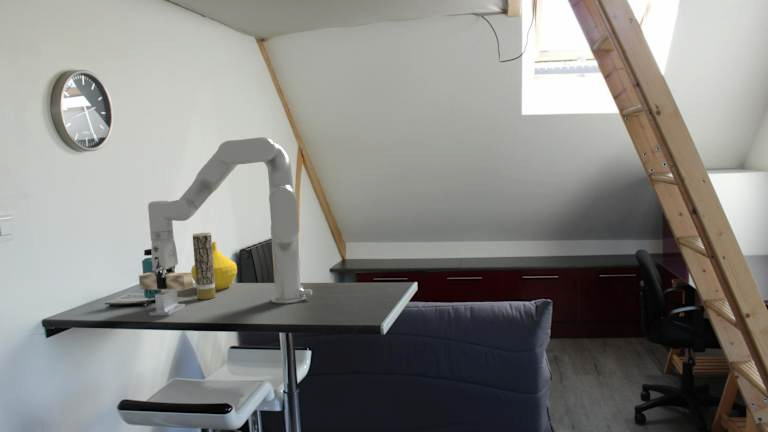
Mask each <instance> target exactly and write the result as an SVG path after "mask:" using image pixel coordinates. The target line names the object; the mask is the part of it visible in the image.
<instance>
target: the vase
mask: <svg viewBox="0 0 768 432" xmlns="http://www.w3.org/2000/svg"><path fill="white" fill-rule="evenodd" d="M217 248H218V247H217V242H216V241H212V252H213V266H214V280H215V291H219V290H220V291H221V290H225V289H227V288H229V287H230V286H231V285H232V284H233V282H234V281H235V279H236V276H237V273H238V266H237V263H236V262H235V261H233V260H231V259H230V258H228V257H227V256H225V255H224V254H223V253H222V252H220V251H219V250H218V249H217ZM190 273H192V279H193V282H194V283H195V284H196V274H195V264H193V266H192V267H191V270H190Z"/></svg>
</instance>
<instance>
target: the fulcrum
mask: <svg viewBox="0 0 768 432" xmlns="http://www.w3.org/2000/svg"><path fill="white" fill-rule="evenodd" d="M161 291H162V292H160V293H158V294H156V295H155V298H154V299H155V309H154V310H152V311H150V312H149V316H170V315H173V314H174V313H176V312H177V311H179V310H181V309H184V308H185V307H186V303H179V298H178V297H179V296H178V290H161Z"/></svg>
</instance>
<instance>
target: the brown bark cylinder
mask: <svg viewBox="0 0 768 432" xmlns="http://www.w3.org/2000/svg"><path fill="white" fill-rule="evenodd" d="M212 242H213V239H212V232H196V233H193V234H192V245H193V257H194V265H195V274H196V283H195V285H196V296H197V299H198V300H202V301H203V300H212V299H214V298H215V297H216V290H215V280H214V266H213V252H212Z"/></svg>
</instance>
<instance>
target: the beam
mask: <svg viewBox="0 0 768 432" xmlns="http://www.w3.org/2000/svg"><path fill="white" fill-rule="evenodd" d="M165 277H166V286H167V288H166V289H157V279H156V277H155V274H154V273H145V274H143V273H142V274H138V281H139V283H138V284H139V290H144V289H147V290H161V291H165V290H177V291H178V290H179V291H181V290H182V291H186V290H188V289H190V288H193V287H194V279H193V277H192V273H191V272H175V273H166V272H165Z"/></svg>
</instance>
